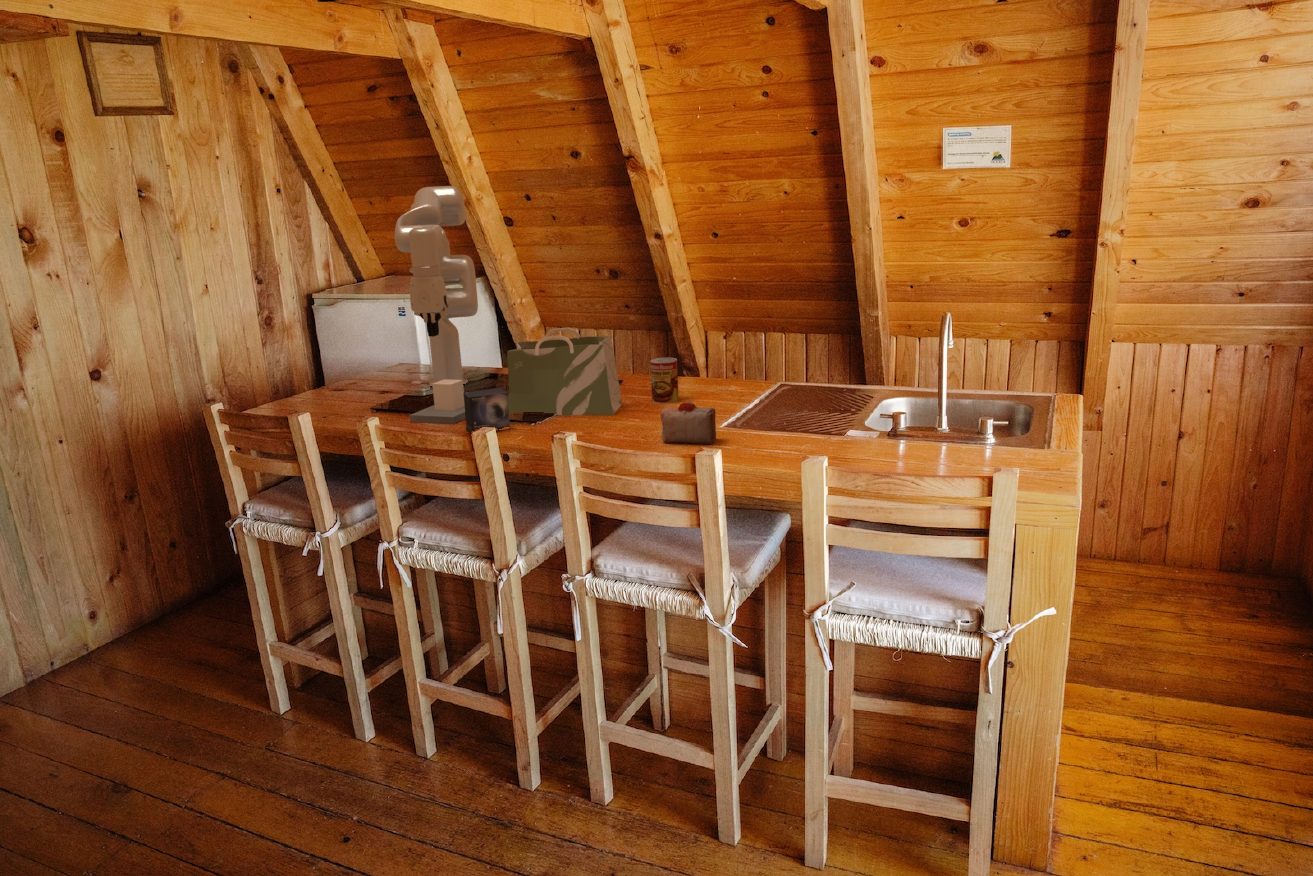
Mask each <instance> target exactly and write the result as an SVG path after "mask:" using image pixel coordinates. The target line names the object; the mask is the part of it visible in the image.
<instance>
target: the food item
mask: <svg viewBox="0 0 1313 876" xmlns="http://www.w3.org/2000/svg"><path fill="white" fill-rule="evenodd" d="M659 416H660V418H659V419H660V420H661V421H660V422H661V426H662V429H661V435H662V437H661V438H662V442H663V444H664V443H665V444H698V445H712V444H714V443H715V442H716V440H717V432H716V430H717V429H716V408H715V407H701V406H700V407H698V406H696V405H695V403H692V401H691V400H688V402H686V401H684V402H681V403H680V404H679V406H678V407H665V408H663V409H662V411H660V413H659Z"/></svg>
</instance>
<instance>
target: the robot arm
mask: <svg viewBox="0 0 1313 876" xmlns="http://www.w3.org/2000/svg"><path fill="white" fill-rule="evenodd" d="M466 219H467V208H466V204H465V199H464V197H463V194H462V192H461V191H460V190H459V189H458V187H456V186H453V185H445V186H444V185H440V186H426V187H422V188H420V189H419V190H417V191H416V193H415V196H414V200H413V203H412V204H411V206H410V209H409V210H408V211H407V212H406V213H403V214H402V215H401V216H400V217H398V218H397V221H396V223H395V229H394V243H395V246H396V248H397V250H398V251H400V252H402V253H410V257H411V267H410V268H409V273H411V274H412V277H410V282H409V283H410V284H409V298H410V299H409V301H410V310H411V311H412V312H413V314H414V316H417V317H420V318H421V319H422V320H423V322H424V323H426V324H425V326H426V332H427V336H428V337H429V348H430V358H431V366H432V367H431V368H432V376H433V380H430V381H429V382H428V383H429V385H428V386H429V387H430V386H432V384H433V383H436V382H438V381H441V380H444V379H448V380H463V384H465V385H467V384H468V383H469V379H468V378H465V377H464V375H467V374H468V373H469V370H468V367H464V368H463V365H462V355H461V346H460V336H459V331H458V330H459V329H458V328H457V326H456V325H455V324H454V323H453V322H452V321H451V320H450V319H453V318H454V319H455V318H468V317H473V316H475V315H476V314H477V313H478V310H479V301H478V290H477V279H476V269H475V264H474V261H473V259H472V258H471V256H469V255H467V254H453V255H452V254H451V249H450V248H451V246H450V241H449V239H448V238H447V234H446V231H445V230H444V229H443V228H442V227H447V226H448V227H452V226H453V227H454V226H455V227H456V226H461V225H463V224H464V223H465V222H466ZM456 285H457V286H458V285H459V286H461V287H452V288H451V287H450V288H449V287H447V286H456ZM446 287H447V288H446ZM467 382H468V383H467ZM466 383H467V384H466Z"/></svg>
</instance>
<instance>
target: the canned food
mask: <svg viewBox="0 0 1313 876" xmlns="http://www.w3.org/2000/svg"><path fill="white" fill-rule="evenodd" d="M649 366H650V367H649V368H650V382H651V383H650V387H651V401H652V403H656V404H670V403H671V404H672V403H676V402H678V401H679V378H678V377H679V374H678V359H677V358H676V357H675V358H674V357H657V358H652V359H650V361H649Z"/></svg>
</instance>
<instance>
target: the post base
mask: <svg viewBox="0 0 1313 876" xmlns="http://www.w3.org/2000/svg"><path fill="white" fill-rule="evenodd" d="M409 419H410V422H411V423H420V424H421V423H424V424H425V423H426V424H444V425H455V424H458V423H459V422H462V421H463V420H466V419H465V406H464V407H461V408H459V409H457V410H454V411H449V410H435V405H434V404H433V405H431V406H428V407H426V408H424V409H421V410H418V411H417V412H415V413H414V412H413V413H411V414H409Z"/></svg>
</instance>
